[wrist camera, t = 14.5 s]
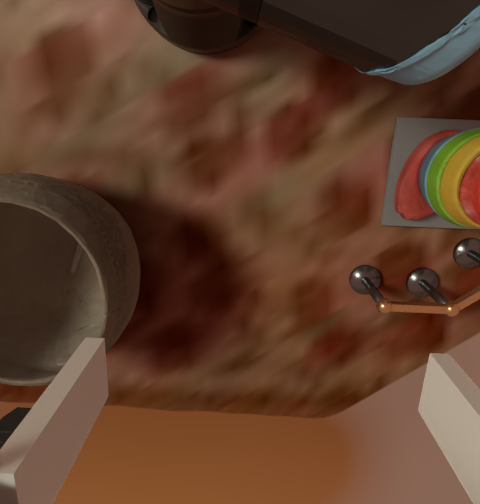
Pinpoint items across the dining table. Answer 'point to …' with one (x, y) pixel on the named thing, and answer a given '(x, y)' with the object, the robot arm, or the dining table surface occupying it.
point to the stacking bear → (442, 179)
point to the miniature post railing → (421, 285)
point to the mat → (404, 143)
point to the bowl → (59, 275)
